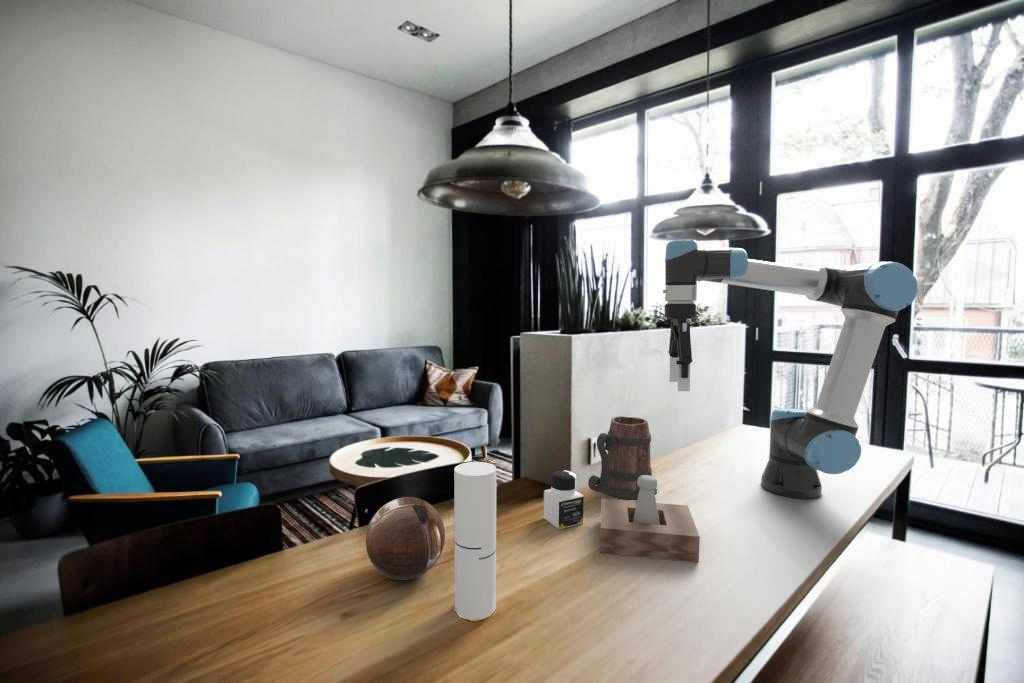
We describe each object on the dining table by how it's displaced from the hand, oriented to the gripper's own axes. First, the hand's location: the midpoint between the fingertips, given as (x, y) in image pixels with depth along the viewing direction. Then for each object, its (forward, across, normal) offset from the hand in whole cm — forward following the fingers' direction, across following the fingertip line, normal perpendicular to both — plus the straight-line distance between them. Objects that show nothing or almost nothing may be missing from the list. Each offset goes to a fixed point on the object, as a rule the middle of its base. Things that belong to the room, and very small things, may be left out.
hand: (678, 386), depth 130 cm
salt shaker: (+30, +20, -10) cm, 38 cm away
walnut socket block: (+31, +20, -10) cm, 39 cm away
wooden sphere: (+31, +43, -57) cm, 78 cm away
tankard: (+32, -8, -14) cm, 36 cm away
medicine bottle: (+31, +14, -29) cm, 45 cm away
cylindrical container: (+31, +52, -42) cm, 73 cm away
